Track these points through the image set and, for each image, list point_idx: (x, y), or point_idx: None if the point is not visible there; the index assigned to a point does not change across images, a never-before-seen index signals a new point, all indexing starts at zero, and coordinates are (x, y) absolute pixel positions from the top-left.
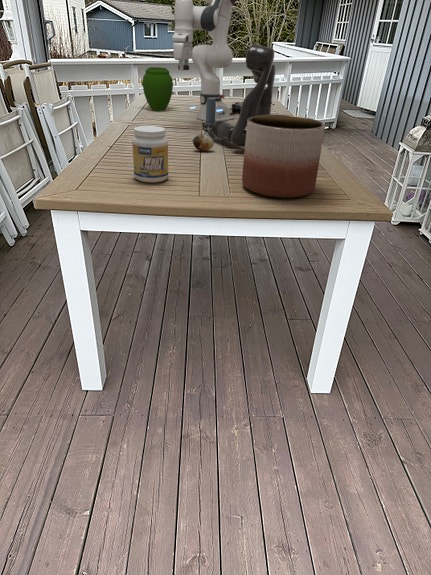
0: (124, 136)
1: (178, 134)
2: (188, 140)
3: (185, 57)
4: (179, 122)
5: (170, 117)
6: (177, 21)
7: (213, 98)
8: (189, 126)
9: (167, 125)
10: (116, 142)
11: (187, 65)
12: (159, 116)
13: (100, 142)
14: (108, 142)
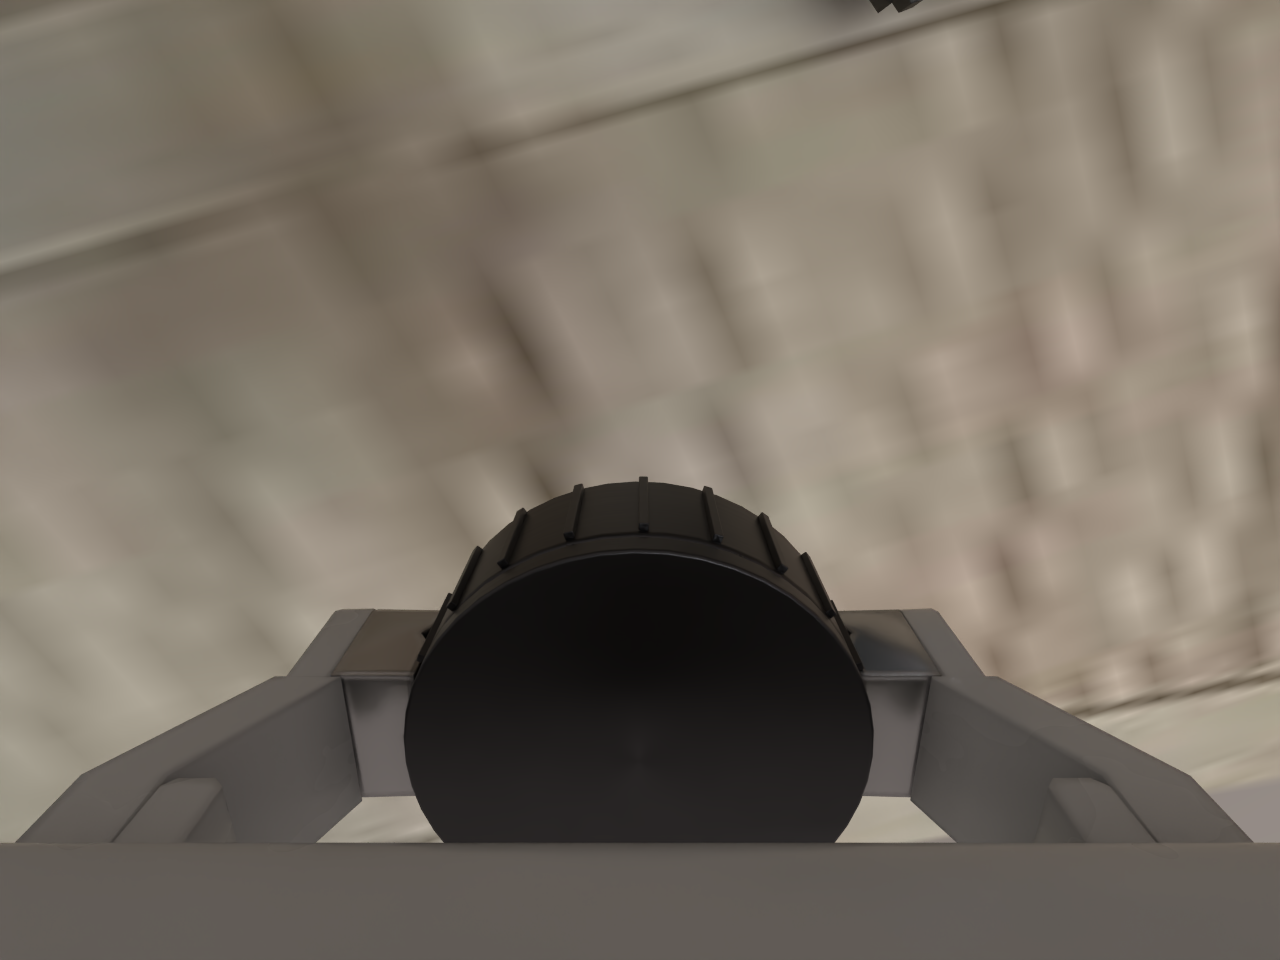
0: (1036, 696)
1: (817, 324)
2: (1064, 142)
3: (1173, 941)
4: (246, 486)
5: (67, 635)
6: None
7: None
8: (381, 332)
9: (457, 544)
10: (1252, 674)
11: (716, 595)
12: (97, 730)
13: (1267, 760)
14: (1260, 718)
